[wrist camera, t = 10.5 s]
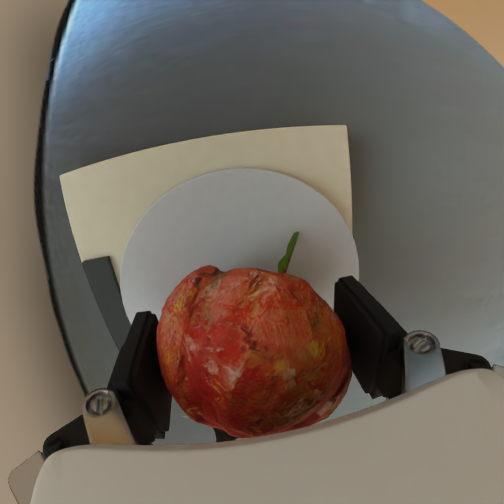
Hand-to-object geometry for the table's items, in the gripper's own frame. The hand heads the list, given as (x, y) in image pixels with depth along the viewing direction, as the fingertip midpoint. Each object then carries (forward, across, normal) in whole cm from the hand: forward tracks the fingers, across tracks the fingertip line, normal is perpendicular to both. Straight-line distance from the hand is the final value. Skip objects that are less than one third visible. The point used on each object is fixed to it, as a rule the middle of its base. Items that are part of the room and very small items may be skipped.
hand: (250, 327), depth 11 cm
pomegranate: (+3, 0, 0) cm, 3 cm away
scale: (+6, +1, 0) cm, 6 cm away
